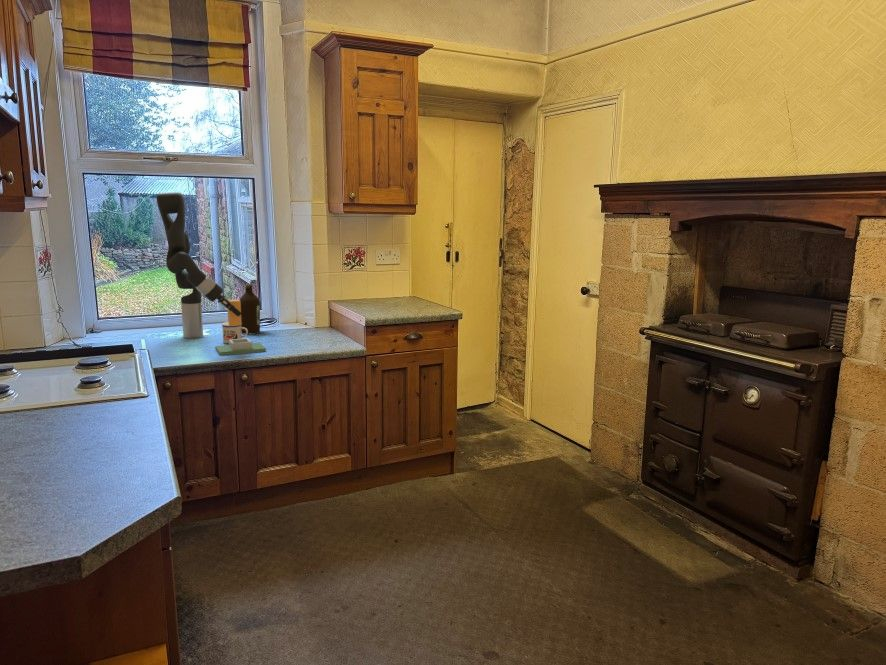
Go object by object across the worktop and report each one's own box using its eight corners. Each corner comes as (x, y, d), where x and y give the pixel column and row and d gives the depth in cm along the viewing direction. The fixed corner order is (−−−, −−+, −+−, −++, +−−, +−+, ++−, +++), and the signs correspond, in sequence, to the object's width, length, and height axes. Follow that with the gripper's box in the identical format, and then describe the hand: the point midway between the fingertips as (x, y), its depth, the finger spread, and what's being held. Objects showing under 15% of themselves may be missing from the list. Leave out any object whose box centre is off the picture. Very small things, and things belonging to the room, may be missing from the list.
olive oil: (238, 334, 311) (236, 286, 305) (241, 330, 321) (238, 283, 316) (260, 334, 313) (258, 286, 308) (261, 330, 323) (260, 283, 318)
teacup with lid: (220, 343, 290) (218, 319, 287) (226, 339, 299) (225, 316, 296) (245, 344, 290) (244, 320, 288) (250, 340, 299) (249, 317, 297)
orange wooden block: (228, 323, 276) (227, 299, 273) (239, 323, 278) (238, 299, 276) (229, 325, 271) (228, 301, 269) (241, 325, 273) (240, 301, 271)
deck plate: (215, 349, 279) (215, 339, 278) (259, 345, 288) (259, 336, 287) (219, 355, 268) (219, 345, 267) (265, 351, 277) (265, 341, 276)
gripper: (217, 284, 261) (247, 310, 269) (213, 280, 273) (242, 305, 281) (205, 297, 260) (235, 322, 268) (201, 292, 272) (230, 317, 280)
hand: (238, 313), depth 274 cm, fingers closed on orange wooden block, 5 cm apart
